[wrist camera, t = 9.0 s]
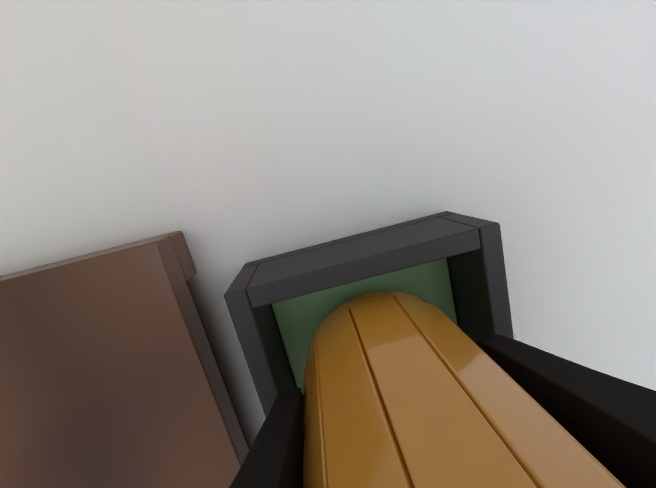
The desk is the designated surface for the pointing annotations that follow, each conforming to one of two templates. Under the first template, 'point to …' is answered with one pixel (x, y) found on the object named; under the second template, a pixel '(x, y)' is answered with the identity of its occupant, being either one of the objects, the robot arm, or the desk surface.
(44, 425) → the brown flat block
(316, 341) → the cup
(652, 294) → the desk surface
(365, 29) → the desk surface
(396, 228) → the tray
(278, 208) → the desk surface
